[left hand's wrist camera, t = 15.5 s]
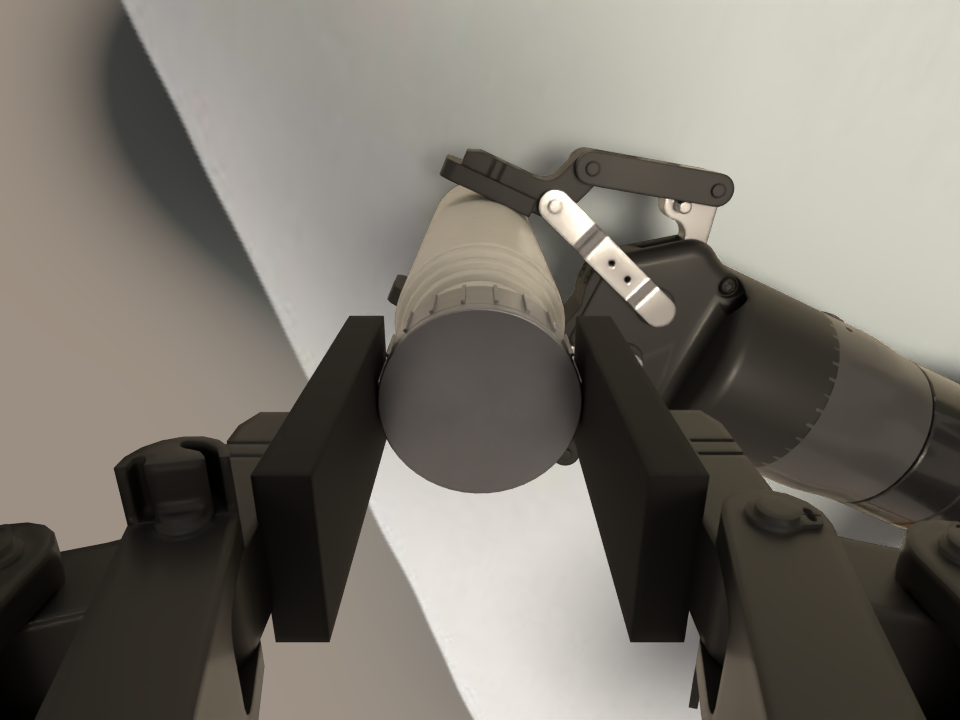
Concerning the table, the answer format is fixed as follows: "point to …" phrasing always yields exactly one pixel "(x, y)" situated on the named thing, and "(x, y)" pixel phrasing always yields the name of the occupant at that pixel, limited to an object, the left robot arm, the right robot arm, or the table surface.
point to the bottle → (478, 255)
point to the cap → (479, 390)
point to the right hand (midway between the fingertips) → (419, 229)
